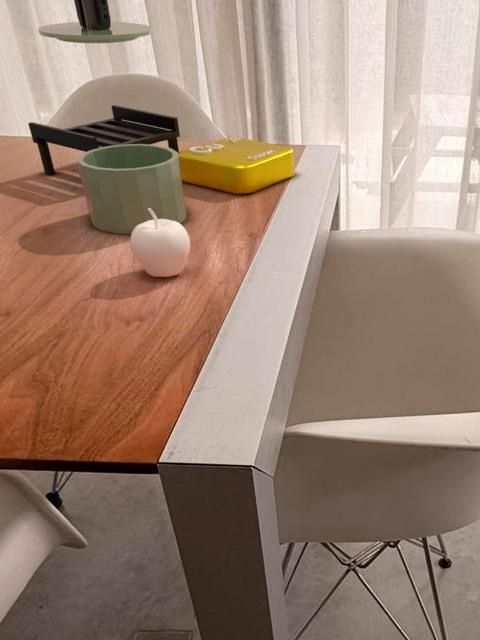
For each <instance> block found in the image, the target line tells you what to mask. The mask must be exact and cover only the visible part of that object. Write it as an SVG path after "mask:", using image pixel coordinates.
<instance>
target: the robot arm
mask: <svg viewBox="0 0 480 640" xmlns="http://www.w3.org/2000/svg"><path fill="white" fill-rule="evenodd" d="M73 1H74V6H75V11H76V16H77V19H78V22H79V23H80V25H81V26H82V27H86V22H85V17H84V12H83V7H82V2H81V0H73ZM89 2H90V7H91V12H92V17H93V23H94V27H95V28H96V29H99V30H103V29H109V28H110V27H111V24H110V23H111V22H112V21H111V19H112V18H111V15H110V7H109V3H108V0H89ZM86 28H87V27H86Z"/></svg>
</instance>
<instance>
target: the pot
mask: <svg viewBox="0 0 480 640" xmlns="http://www.w3.org/2000/svg"><path fill="white" fill-rule="evenodd" d="M76 163H77V167H78V171H79V176H80V180H81V185H82V188H83V194H84V197H85V203H86V206H87V210H88V216H89V219H90V221H91V223H92V225H93V226H94V227H95V228H97V229H98V230H101V231H104V232H107V233H113V234H119V235H120V234H121V235H131V234H132V232H133V230H134V228H135V227H136V226H137V225H139V224H141V223H144V222H146V221H149V220H154V219H153V217H152V215H151V213H150V212H149V210H148V209H149V208H151V210H152V211H153V212H154V214H155V215H156V217H157V219H167V220H172V221H176V222H178V223H180V224H181V223H183V222H184V221H185V220H186V219H187V216H188V215H187V207H186V206H187V205H186V199H185V192H184V191H185V190H184V185H183V184H184V183H183V181H182V177H181V170H180V163H179V156H178V152H176V151H175V150H173V149H171V148H169V147H167V146H163V145H158V144H150V145H148V144H124V145H115V146H107V147H102V148H98V149H94V150H90V151H87V152H83V153H81V154H80V155H79V156H78V157H77V160H76Z"/></svg>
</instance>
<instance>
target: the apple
mask: <svg viewBox="0 0 480 640" xmlns="http://www.w3.org/2000/svg"><path fill="white" fill-rule="evenodd" d="M148 210H149V212H150V213H151V215H152V217H153V219H154V220H149V221H146V222H144V223H141V224H139V225H137V226H136V227H135V228H134V230H133V232H132V234H130V244H129V245H130V248H131V251H132V254H133V256H134V257H135V258H136V260H137V261H138V263H139V264H140V265H141V267H142V268H143V269H144V271H145V272H146V273H147V274H148V275H150V276H151V277H154V278H170V277H174V276H178V275H180V274H181V273H182V272H183V270H184V269H185V267H186V264H187V260H188V257H189V255H190V250H191V239H190V238H191V237H190V235H189V233H188V232H187V230H186V228H185V227H184V226H183V225H182V224H181V223H178V222H176V221H172V220H167V219H157V217H156V215H155V214H154V212H153V211H152V210H151V208H149V209H148Z"/></svg>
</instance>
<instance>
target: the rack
mask: <svg viewBox="0 0 480 640" xmlns="http://www.w3.org/2000/svg"><path fill="white" fill-rule="evenodd" d="M110 107H111V111H112V117H113V118H108V119H107V118H106V119H103V120H99V121H94V122H90V123H89V122H88V123H85V124H81V125H76V126H72V127H67V128H59V127H54V126H50V125H46V124H42V123H38V122H34V121H31V122H28V123H27V124H28V128H29V132H30V136H31V140H32V143H33V144H37V148H38V151H39V155H40V160H41V163H42V167H43V171H44V174H45V175H48V176H53V175H56V171H55V166H54V163H53V159H52V155H51V151H50V147H49V144H52V145H56V146H59V147H60V146H61V147H65V148H68V149H73V150H77V151H80V152H83V153H86V152H87V151H90V150H94V149H98V148H102V147H107V146H115V145H124V144H148V145H155V144H157V143H161V142H165V141H167V146H168V148H171V149H173V150H175V151H176V152H178V153H179V152H180V150H179V143H178V138H179V137H181V134H180V133H181V132H180V127H179V119H178V117H176V116H171V115H166V114H161V113H156V112H151V111H147V110H141V109H136V108H131V107H126V106H121V105H116V104H113V105H110Z"/></svg>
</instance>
